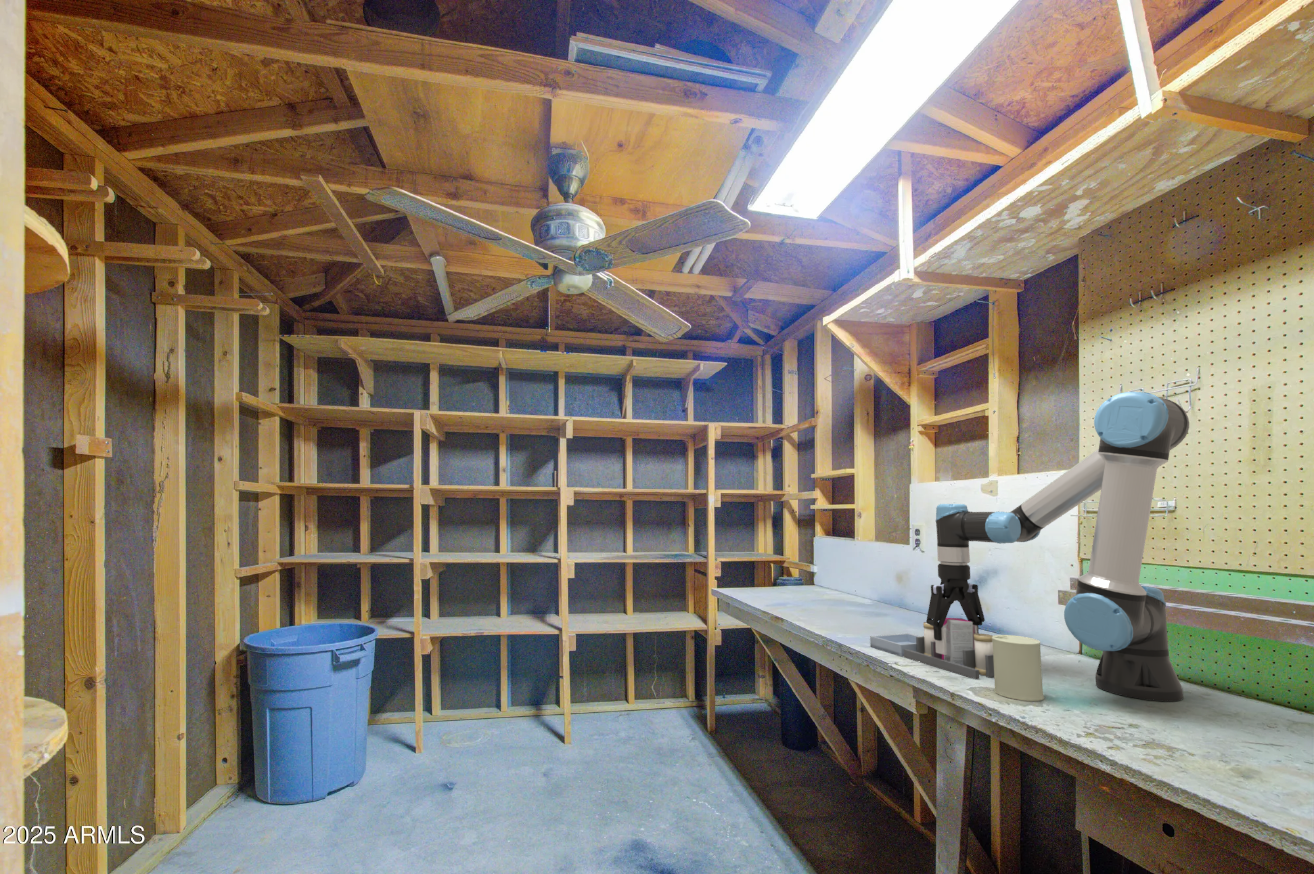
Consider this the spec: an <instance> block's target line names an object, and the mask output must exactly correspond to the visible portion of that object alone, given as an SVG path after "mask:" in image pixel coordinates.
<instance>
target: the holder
mask: <svg viewBox="0 0 1314 874" xmlns="http://www.w3.org/2000/svg"><path fill="white" fill-rule="evenodd" d="M924 652H925V646H924V635H923V636H922V635H921V636H920V637H916V652H915V651H912V650H909V649H904V656H903V657H904V658H905V657H906V659H909V660H912V659H913V661H915V662H918V661H920V662H919V663H921V662H922V663H921V664H925V663H926V664H925V665H928V666H932V667H934V668H937V667H938V668H937V669H942V670H945V671H948V672H951V673H954V674H957V675H961V676H964V677H967V678H971V679H973V680H980V674H979V670H977V669H975V667H976V664H975V649H967V650H963V665H960V664H957V663H953V662H950V661H946V660H943V659H942V654H940V653H936V642H935V641H931V656H929V655H926V654H924ZM985 661H986V678H989V679H990V678H991V679H992V678H994V659H993V654H991V655H985Z"/></svg>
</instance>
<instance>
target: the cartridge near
mask: <svg viewBox="0 0 1314 874" xmlns="http://www.w3.org/2000/svg"><path fill="white" fill-rule="evenodd" d="M992 636H993V635H992V634H987V633H980V632H979V633H977V634H974V643H975V664H976V667H975V669H977V670H979V676H986V661H985V655H991V654H993V643H992Z"/></svg>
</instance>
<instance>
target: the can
mask: <svg viewBox="0 0 1314 874" xmlns="http://www.w3.org/2000/svg"><path fill="white" fill-rule="evenodd" d="M992 643H993V659H994V677H993V678H994V681H993V682H994V689H993V691H994V693H995V694H997V695H999V696H1001V697H1003V698H1007V699H1011V700H1017V701H1024V702H1040V701H1043V700H1044V699H1045V696H1044V689H1043V676H1042V675H1043V674H1042V656H1041V641H1040V640H1038V639H1036V638H1032V637H1026V636H1023V635H1021V636H1020V635H1014V634H1013V635H1012V634H1011V635H1010V634H998V635H997V634H996V635H992Z"/></svg>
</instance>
